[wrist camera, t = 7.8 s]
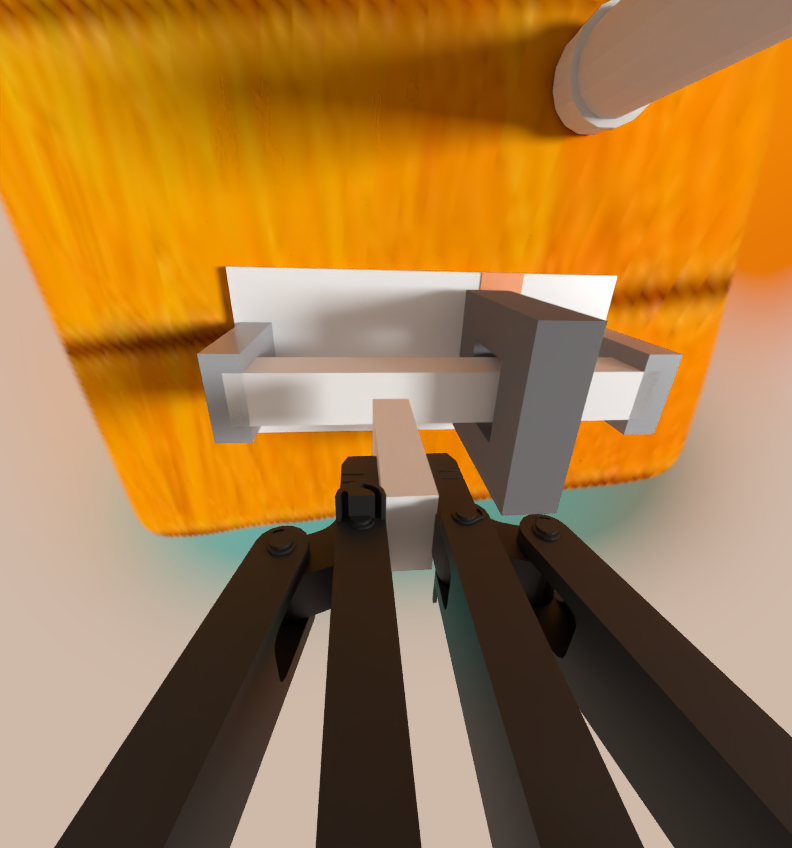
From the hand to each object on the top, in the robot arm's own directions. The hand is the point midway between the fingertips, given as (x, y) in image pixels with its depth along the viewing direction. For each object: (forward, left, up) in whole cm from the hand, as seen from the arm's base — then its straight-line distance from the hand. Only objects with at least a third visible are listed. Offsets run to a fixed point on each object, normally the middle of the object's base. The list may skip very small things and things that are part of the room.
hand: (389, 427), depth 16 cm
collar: (+1, +8, -12) cm, 14 cm away
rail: (+1, +4, -14) cm, 14 cm away
